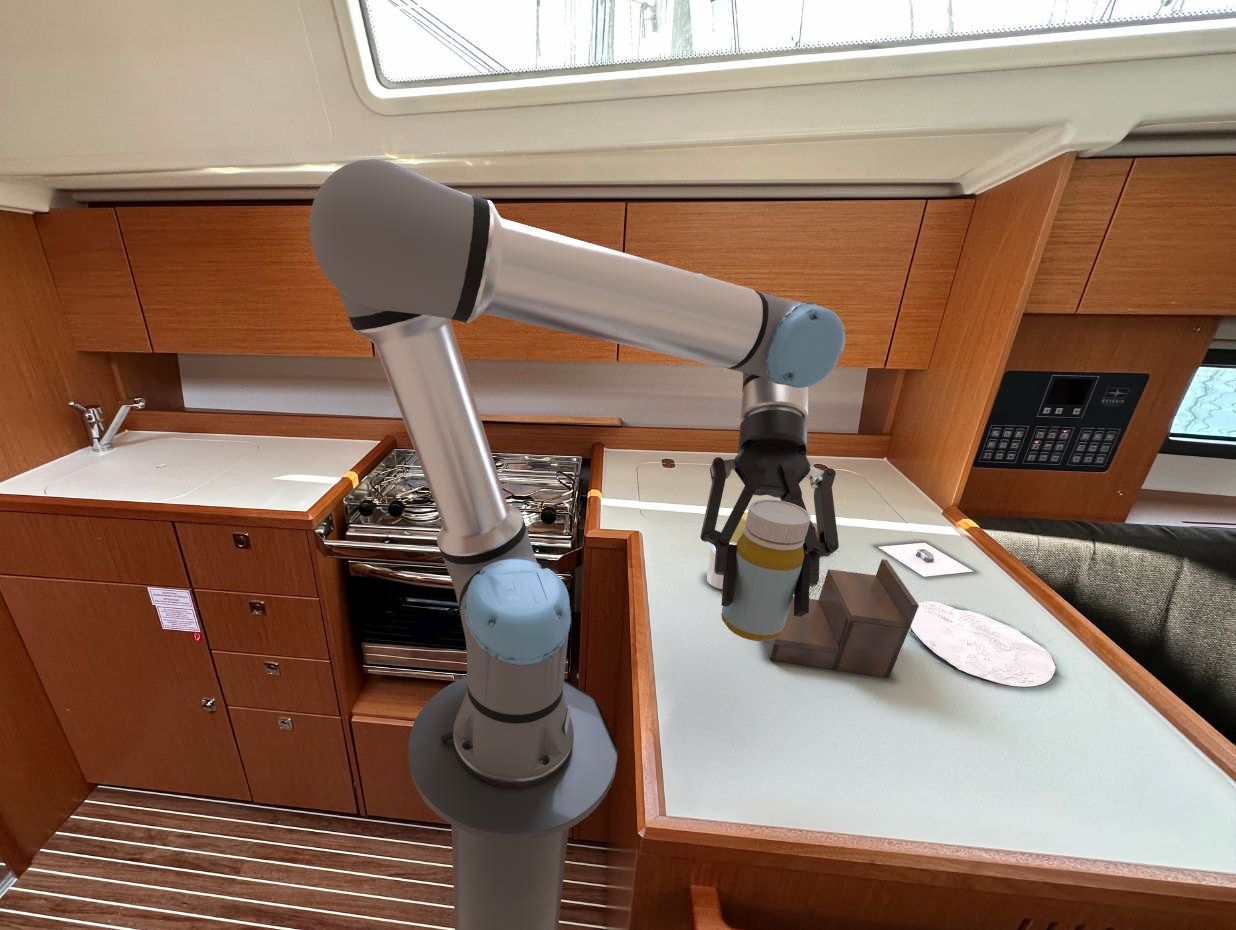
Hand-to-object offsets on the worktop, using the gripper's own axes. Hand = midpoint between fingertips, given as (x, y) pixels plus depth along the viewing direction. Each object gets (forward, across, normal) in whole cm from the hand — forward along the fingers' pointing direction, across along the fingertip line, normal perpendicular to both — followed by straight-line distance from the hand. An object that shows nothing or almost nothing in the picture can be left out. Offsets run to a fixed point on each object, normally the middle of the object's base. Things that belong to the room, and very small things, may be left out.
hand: (763, 608), depth 64 cm
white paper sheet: (-28, -44, -59) cm, 79 cm away
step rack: (-3, -17, -34) cm, 38 cm away
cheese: (-19, -11, -50) cm, 55 cm away
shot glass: (-14, -3, -44) cm, 47 cm away
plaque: (-7, -42, -39) cm, 57 cm away
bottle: (+1, 0, -6) cm, 6 cm away
